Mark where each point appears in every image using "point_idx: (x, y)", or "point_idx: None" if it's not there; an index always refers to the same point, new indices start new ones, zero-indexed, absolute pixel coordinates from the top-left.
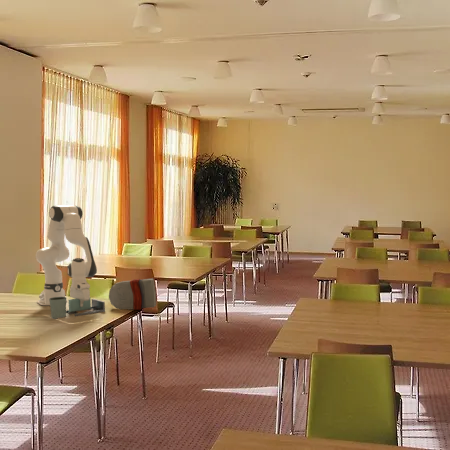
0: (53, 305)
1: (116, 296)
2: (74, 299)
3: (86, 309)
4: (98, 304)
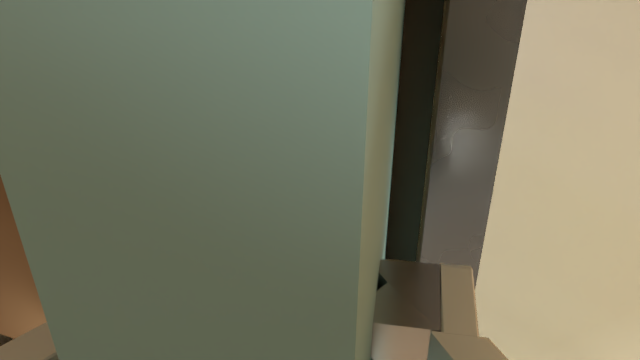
0: None
1: None
2: (48, 270)
3: None
4: None
